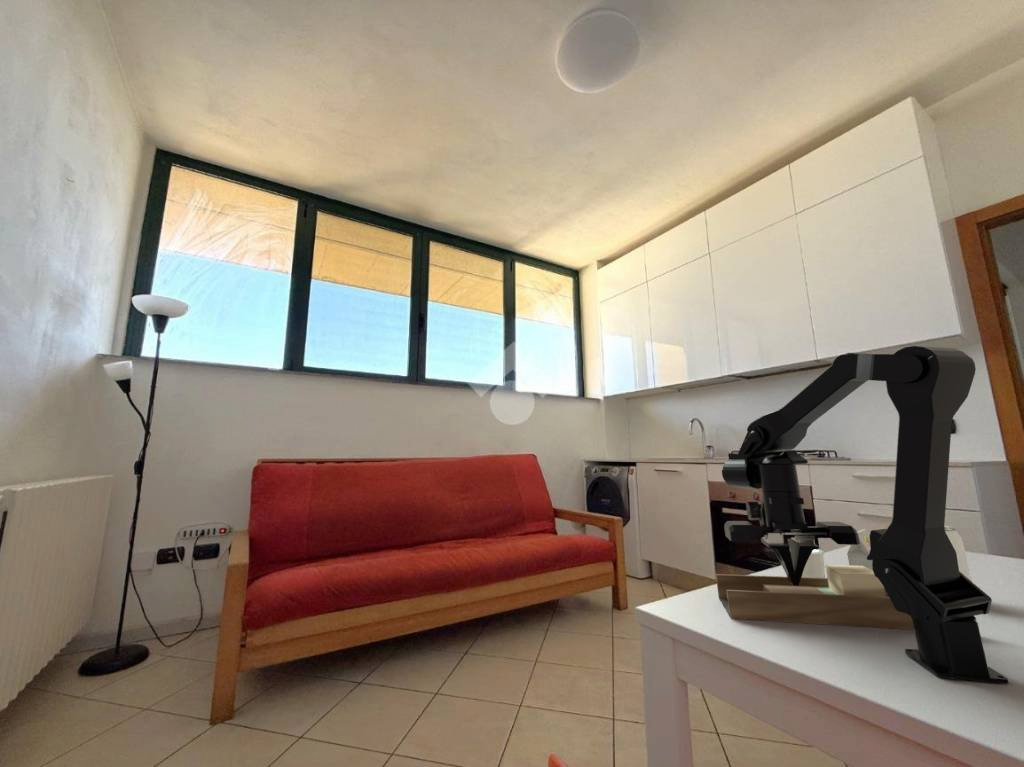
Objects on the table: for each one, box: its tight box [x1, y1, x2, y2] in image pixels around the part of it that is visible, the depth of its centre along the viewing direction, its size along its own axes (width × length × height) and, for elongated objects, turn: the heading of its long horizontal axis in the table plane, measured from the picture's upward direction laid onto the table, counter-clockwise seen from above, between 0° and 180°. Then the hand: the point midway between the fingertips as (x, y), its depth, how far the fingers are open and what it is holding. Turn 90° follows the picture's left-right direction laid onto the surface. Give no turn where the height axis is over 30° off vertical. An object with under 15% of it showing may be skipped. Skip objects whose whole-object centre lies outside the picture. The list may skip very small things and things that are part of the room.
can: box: [944, 525, 973, 582], centre depth 72 cm, size 6×6×12 cm
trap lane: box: [715, 573, 914, 631], centre depth 67 cm, size 10×30×4 cm, turn 73°
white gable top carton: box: [847, 528, 872, 570], centre depth 82 cm, size 4×7×10 cm, turn 126°
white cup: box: [802, 548, 826, 578], centre depth 81 cm, size 7×7×7 cm
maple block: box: [824, 564, 886, 597], centre depth 67 cm, size 6×6×4 cm
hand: (794, 585), depth 69 cm, fingers closed
